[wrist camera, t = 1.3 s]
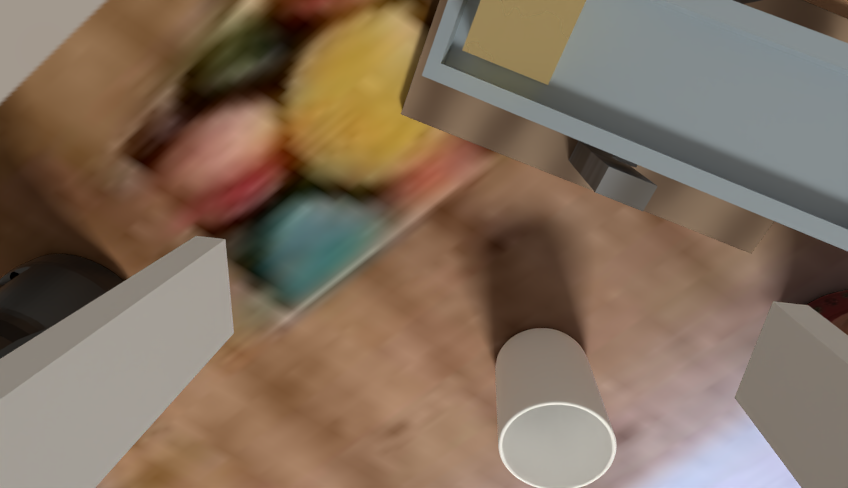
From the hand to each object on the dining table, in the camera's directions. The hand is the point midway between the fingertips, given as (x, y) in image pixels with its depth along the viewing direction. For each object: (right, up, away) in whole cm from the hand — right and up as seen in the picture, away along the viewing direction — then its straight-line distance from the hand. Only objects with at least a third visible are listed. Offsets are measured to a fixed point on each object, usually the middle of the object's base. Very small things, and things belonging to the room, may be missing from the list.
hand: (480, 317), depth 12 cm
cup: (+10, -11, +33) cm, 36 cm away
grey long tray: (+13, +12, +19) cm, 26 cm away
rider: (+4, +14, +14) cm, 20 cm away
